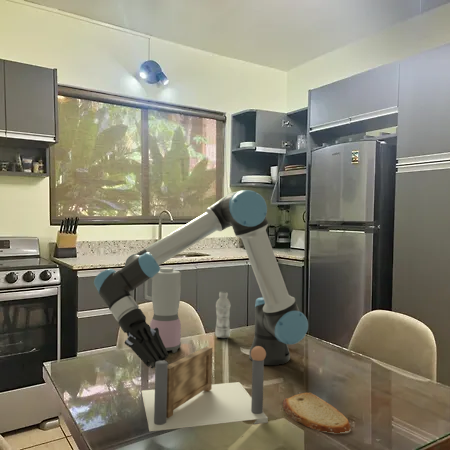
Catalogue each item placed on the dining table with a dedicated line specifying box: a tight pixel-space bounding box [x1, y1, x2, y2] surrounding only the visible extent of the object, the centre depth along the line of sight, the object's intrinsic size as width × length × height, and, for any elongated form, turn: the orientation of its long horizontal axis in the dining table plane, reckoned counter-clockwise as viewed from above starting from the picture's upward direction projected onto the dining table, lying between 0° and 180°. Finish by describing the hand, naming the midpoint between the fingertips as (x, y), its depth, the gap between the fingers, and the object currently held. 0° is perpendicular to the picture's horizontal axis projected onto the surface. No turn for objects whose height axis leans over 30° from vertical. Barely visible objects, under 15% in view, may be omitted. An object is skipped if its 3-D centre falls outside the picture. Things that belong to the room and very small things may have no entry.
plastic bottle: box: [214, 291, 231, 339], centre depth 182 cm, size 6×7×20 cm
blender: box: [142, 267, 183, 354], centre depth 165 cm, size 16×12×32 cm
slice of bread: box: [282, 392, 352, 433], centre depth 112 cm, size 18×18×4 cm
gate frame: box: [141, 346, 269, 432], centre depth 114 cm, size 30×24×18 cm
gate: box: [166, 345, 213, 418], centre depth 114 cm, size 21×2×12 cm, turn 151°
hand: (172, 382), depth 116 cm, fingers closed
